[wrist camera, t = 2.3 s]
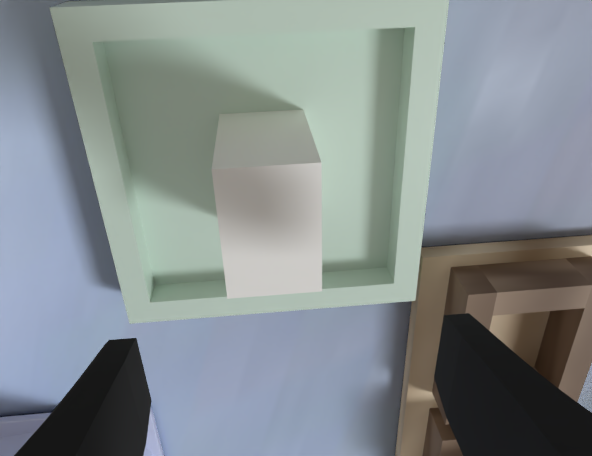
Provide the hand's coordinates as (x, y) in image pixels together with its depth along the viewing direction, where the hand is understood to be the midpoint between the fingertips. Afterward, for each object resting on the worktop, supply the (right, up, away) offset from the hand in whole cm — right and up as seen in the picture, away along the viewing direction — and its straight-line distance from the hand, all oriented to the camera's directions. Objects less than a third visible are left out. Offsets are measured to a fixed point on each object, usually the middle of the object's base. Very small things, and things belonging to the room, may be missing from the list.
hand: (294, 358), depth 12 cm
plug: (-1, +5, +7) cm, 9 cm away
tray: (-1, +6, +8) cm, 10 cm away
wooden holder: (+10, -5, +15) cm, 19 cm away
